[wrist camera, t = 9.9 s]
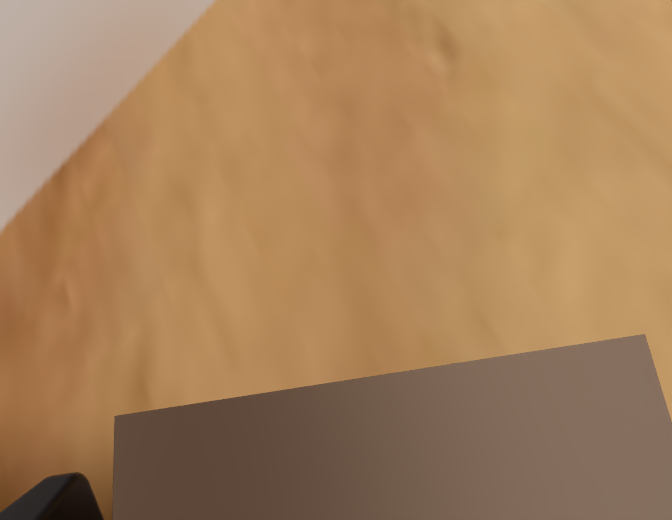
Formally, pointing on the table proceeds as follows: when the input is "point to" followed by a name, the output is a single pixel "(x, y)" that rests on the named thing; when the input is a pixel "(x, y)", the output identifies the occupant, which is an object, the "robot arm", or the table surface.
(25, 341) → the table surface
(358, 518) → the walnut pillar
